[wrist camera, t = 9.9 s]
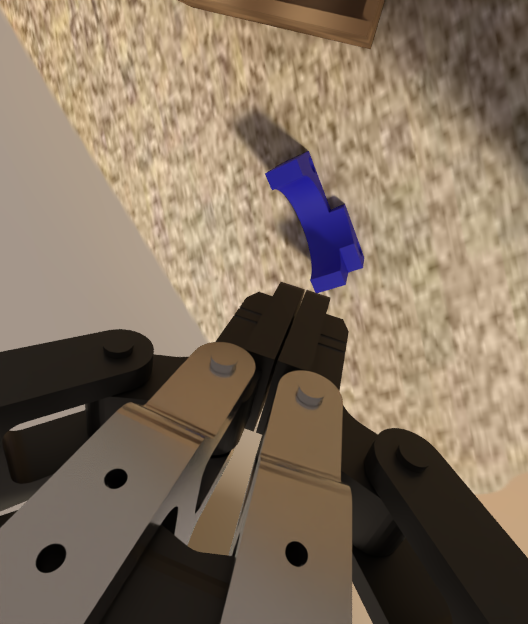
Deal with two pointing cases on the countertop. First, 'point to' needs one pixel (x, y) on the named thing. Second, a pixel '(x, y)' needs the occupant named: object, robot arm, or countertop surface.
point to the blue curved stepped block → (319, 223)
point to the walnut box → (307, 16)
